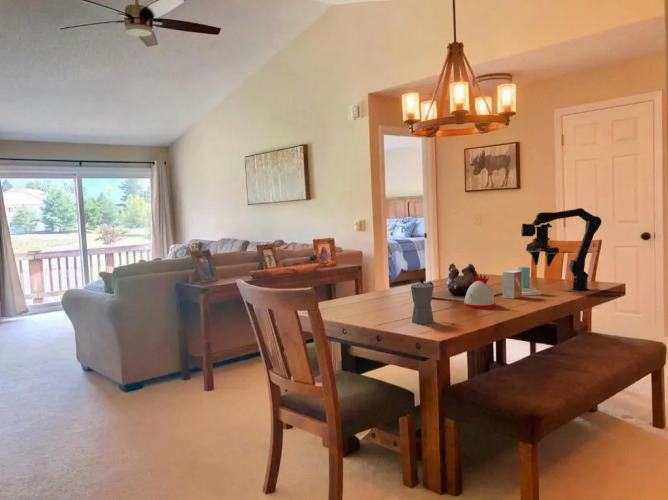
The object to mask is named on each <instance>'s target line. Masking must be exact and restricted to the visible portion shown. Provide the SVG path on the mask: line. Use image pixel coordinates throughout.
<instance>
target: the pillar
mask: <svg viewBox="0 0 668 500" xmlns="http://www.w3.org/2000/svg"><path fill="white" fill-rule="evenodd" d="M517 269H518V270H517V271H522V289H526V288H530V287H531V286H530V285H531V283H530V282H531V281H530V280H531V279H530V276H531V274H530V273H531V272H530V269H531V268H530V267H529V266H518V268H517Z"/></svg>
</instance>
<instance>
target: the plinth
mask: <svg viewBox="0 0 668 500" xmlns="http://www.w3.org/2000/svg"><path fill="white" fill-rule="evenodd" d="M536 295H542V291H541V290H537V289H536V288H535V287H532V286H530V288H526V289H522V297H523V296H536Z"/></svg>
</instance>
